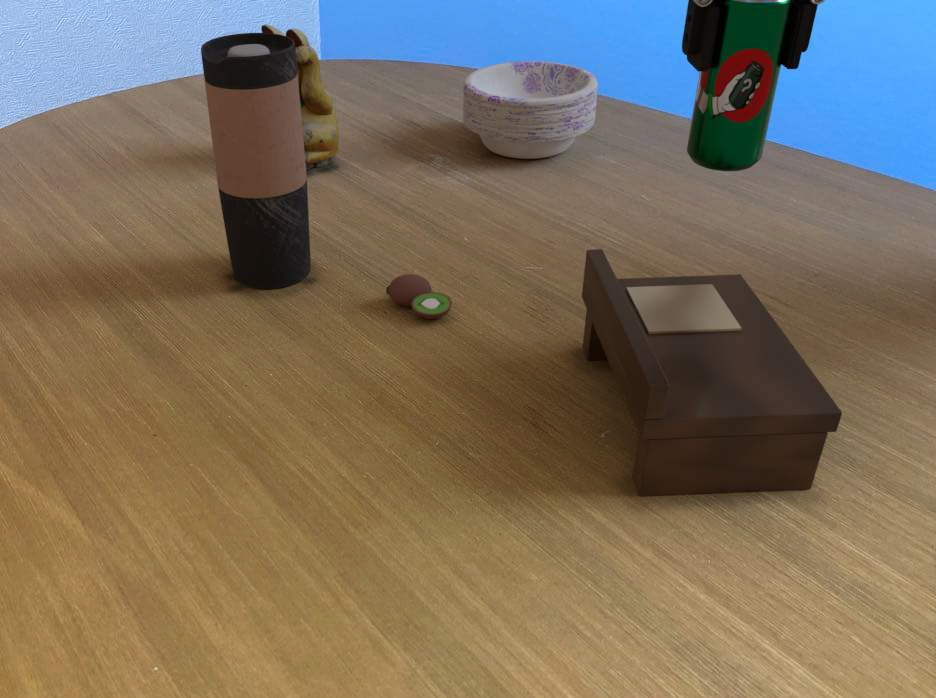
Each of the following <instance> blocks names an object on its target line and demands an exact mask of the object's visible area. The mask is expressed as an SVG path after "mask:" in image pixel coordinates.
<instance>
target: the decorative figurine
mask: <svg viewBox="0 0 936 698" xmlns="http://www.w3.org/2000/svg"><path fill="white" fill-rule="evenodd" d="M260 28H261V33H271V34H279V35H283V36H286V37H289V38H291V39H292V40H293V41H294V43H295V50H296V61H297V73H298V84H299V95H300V106H301V118H302V129H303V140H304V152H305V163H306V171H308V170H310V169H313V168H321V167H324V166H327V165H330V164H334V160H333V157H335V156H336V155H337V154H338V152H339V145H340V144H339V143H340V133H339V132H340V131H339V130H340V129H339V124H338V118H337V113H336V111H335V109H334V106H333V105H334V104H333V100H332V98H331V97H330V95H329V94H328V93H327V91H326V90H325V88H324V85H323V82H322V74H321V65H320V58H319V55H318V53H317V52H316V50H315V49H314V48H313V46H311V45H310V42H309V39H308V36H307V35H305V33H304V32H303V31H301V30H300V29H298V28H289V29H287V30H286V31H285V34H284V33H283V32H282V31H281V30H280V29H278V28H277V27H275V26H273V25H270V24H263V25H261V27H260Z"/></svg>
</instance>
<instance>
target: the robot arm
mask: <svg viewBox="0 0 936 698" xmlns="http://www.w3.org/2000/svg"><path fill="white" fill-rule="evenodd" d="M824 2H826V0H795V3H794V7H793V12H792V17H791V21H790V26H789V31H788V36H787V40H786V45H785V50H784V54H783V59H782V64H781V66H783V67H784V68H786V70H798V68H799V66H800V61H801V57H802V54H803V53H806V52H807V50H808V49H809V46H810V41H811V36H812V32H813V27H814V24H815V20H816V15H817V11H818V6H819V5H821V4H822V3H824ZM719 16H720V9H719V8H718V7H717V6H716V5H715V0H688V1H687V7H686V15H685V22H684V28H683V34H682V39H681V51H682V54H683V55H684V56H686V60H687V62H688V63H689V64H690V65H691V66H692V67H693V68H694V69H695V70H696V71H697V72H698V73H699V72H700V71H707V69H710V67H711V62H712V56H713V50H714V44H715V39H716V33H717V27H718V21H719Z"/></svg>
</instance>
